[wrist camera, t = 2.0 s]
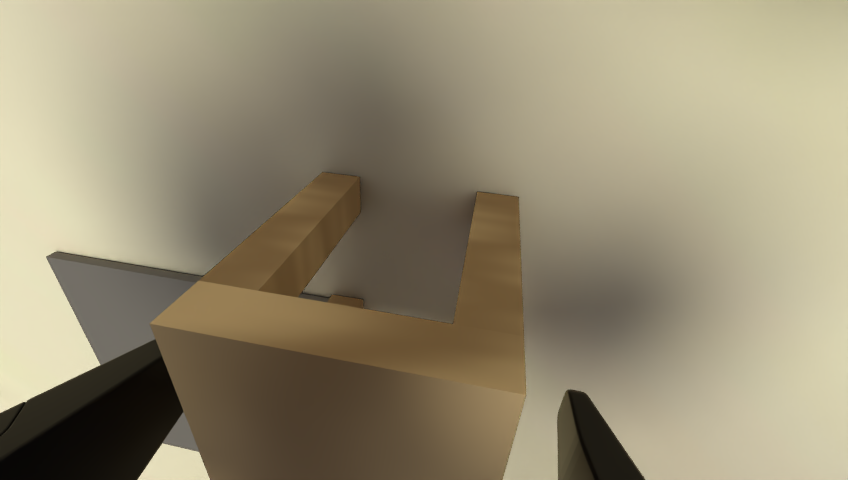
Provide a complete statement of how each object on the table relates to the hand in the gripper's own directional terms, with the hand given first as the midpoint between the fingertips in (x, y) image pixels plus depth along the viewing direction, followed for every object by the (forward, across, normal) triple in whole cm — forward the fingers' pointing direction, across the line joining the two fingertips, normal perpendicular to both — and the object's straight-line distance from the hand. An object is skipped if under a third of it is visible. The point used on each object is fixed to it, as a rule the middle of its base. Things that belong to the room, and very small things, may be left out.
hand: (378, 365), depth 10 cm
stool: (+4, 0, 0) cm, 4 cm away
